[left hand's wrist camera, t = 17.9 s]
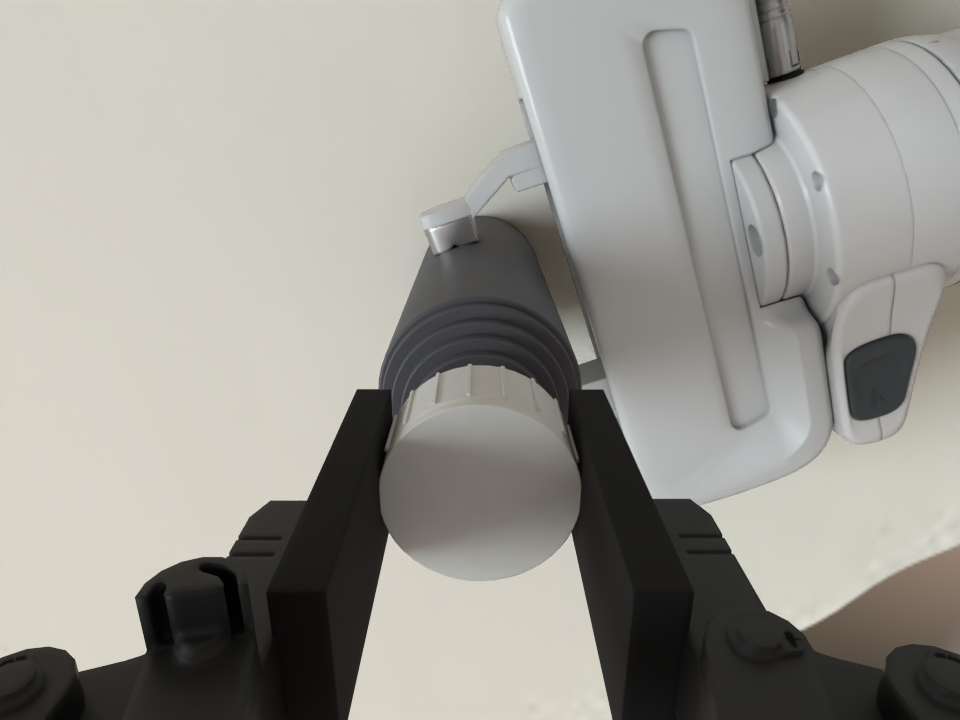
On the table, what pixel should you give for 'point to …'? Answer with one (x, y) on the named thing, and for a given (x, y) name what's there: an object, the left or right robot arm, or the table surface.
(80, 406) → the table surface
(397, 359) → the bottle
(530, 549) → the cap
